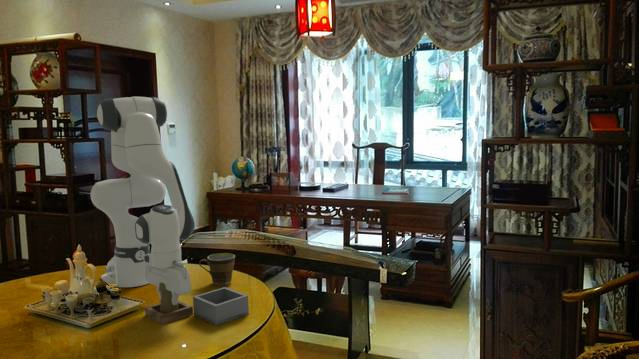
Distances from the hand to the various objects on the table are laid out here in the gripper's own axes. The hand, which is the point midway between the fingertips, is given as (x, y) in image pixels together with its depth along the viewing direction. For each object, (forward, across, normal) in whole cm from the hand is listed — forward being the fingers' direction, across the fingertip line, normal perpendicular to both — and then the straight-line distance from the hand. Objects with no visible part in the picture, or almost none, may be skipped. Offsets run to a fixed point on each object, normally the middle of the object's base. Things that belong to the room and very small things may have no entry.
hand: (168, 301), depth 160 cm
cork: (+4, 0, 0) cm, 4 cm away
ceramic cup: (+4, +13, -28) cm, 32 cm away
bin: (+4, -12, -10) cm, 17 cm away
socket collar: (+4, 0, 0) cm, 4 cm away
